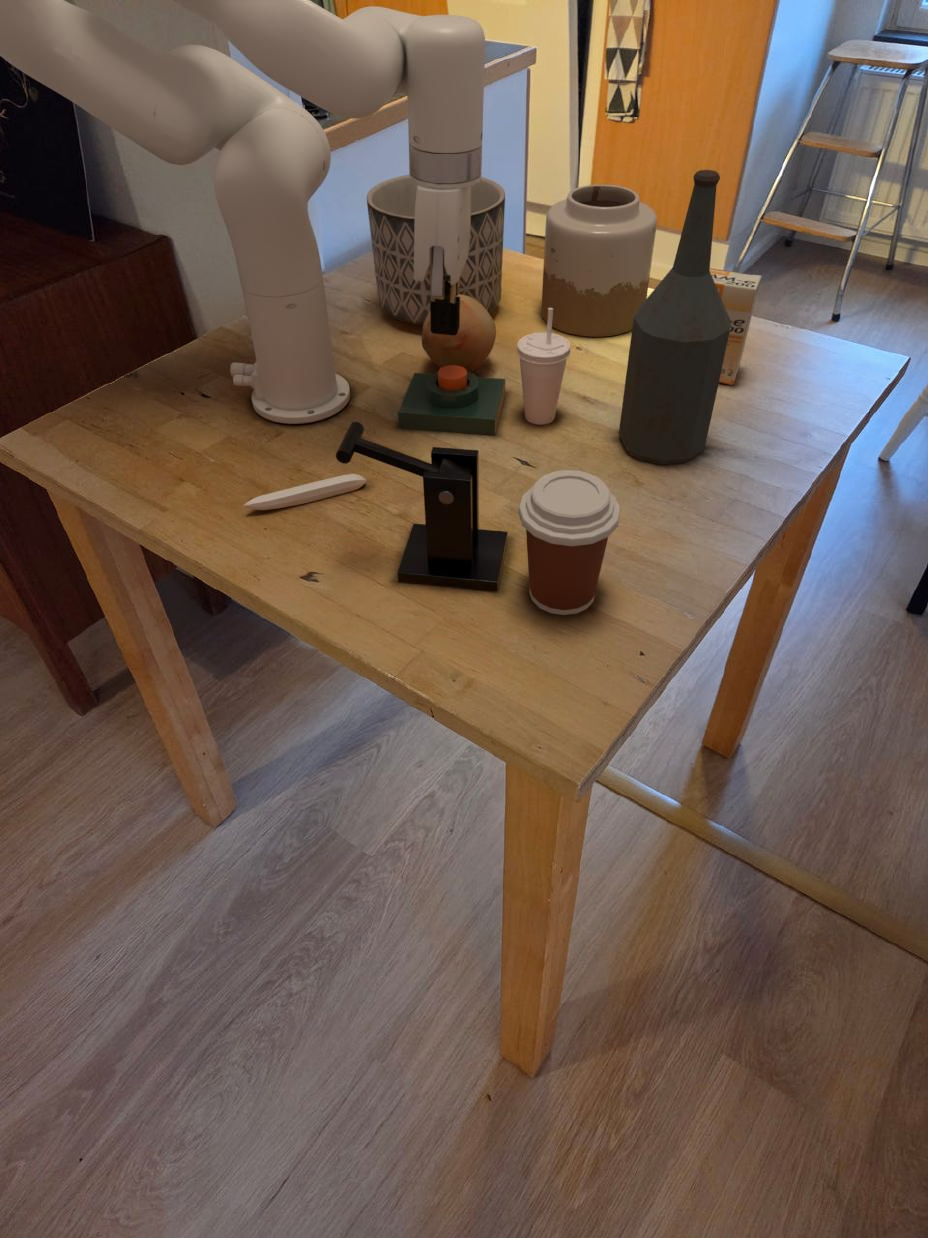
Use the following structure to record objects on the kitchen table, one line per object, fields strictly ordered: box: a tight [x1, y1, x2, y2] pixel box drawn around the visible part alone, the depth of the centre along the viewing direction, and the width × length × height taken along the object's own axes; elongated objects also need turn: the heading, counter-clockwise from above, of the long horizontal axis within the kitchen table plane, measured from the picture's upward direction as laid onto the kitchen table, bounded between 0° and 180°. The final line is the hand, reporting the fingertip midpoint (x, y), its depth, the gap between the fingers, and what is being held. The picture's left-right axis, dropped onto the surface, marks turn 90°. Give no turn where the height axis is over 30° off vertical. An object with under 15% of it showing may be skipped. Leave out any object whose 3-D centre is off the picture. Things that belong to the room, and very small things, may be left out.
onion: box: [421, 294, 497, 373], centre depth 112 cm, size 10×10×10 cm
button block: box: [397, 371, 506, 436], centre depth 106 cm, size 12×10×4 cm
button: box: [437, 365, 467, 391], centre depth 104 cm, size 4×4×2 cm
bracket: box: [396, 446, 509, 592], centre depth 82 cm, size 10×8×12 cm
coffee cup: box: [517, 469, 622, 616], centre depth 79 cm, size 9×9×12 cm
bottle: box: [618, 169, 731, 466], centre depth 91 cm, size 10×10×30 cm
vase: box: [541, 184, 658, 338], centre depth 121 cm, size 15×15×17 cm
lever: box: [335, 421, 471, 478], centre depth 79 cm, size 12×5×2 cm, turn 81°
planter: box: [366, 174, 506, 326], centre depth 123 cm, size 19×19×16 cm
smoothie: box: [516, 308, 572, 425], centre depth 101 cm, size 6×6×14 cm
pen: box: [242, 473, 367, 511], centre depth 94 cm, size 2×14×2 cm, turn 114°
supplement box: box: [710, 267, 762, 386], centre depth 109 cm, size 8×5×13 cm, turn 68°
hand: (445, 330), depth 100 cm, fingers closed
